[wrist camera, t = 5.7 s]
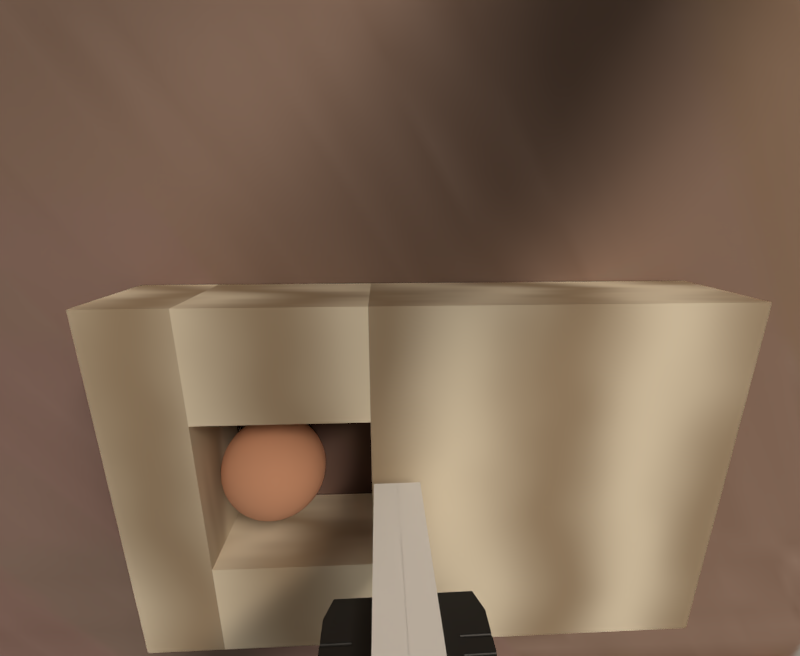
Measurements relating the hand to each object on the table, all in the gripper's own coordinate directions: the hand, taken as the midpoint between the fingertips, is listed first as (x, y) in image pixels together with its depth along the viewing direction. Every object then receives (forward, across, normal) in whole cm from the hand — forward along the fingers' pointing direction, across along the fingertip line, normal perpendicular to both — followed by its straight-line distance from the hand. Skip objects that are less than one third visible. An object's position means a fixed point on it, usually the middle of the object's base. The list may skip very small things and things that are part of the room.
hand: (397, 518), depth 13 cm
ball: (+3, -5, 0) cm, 6 cm away
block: (+5, +1, 0) cm, 5 cm away
